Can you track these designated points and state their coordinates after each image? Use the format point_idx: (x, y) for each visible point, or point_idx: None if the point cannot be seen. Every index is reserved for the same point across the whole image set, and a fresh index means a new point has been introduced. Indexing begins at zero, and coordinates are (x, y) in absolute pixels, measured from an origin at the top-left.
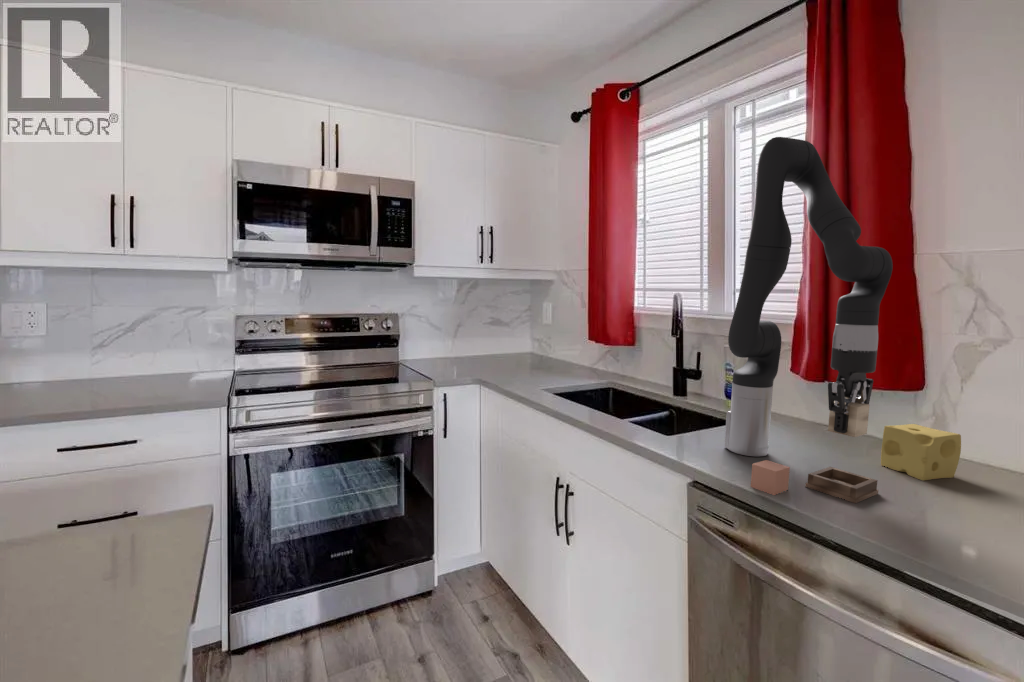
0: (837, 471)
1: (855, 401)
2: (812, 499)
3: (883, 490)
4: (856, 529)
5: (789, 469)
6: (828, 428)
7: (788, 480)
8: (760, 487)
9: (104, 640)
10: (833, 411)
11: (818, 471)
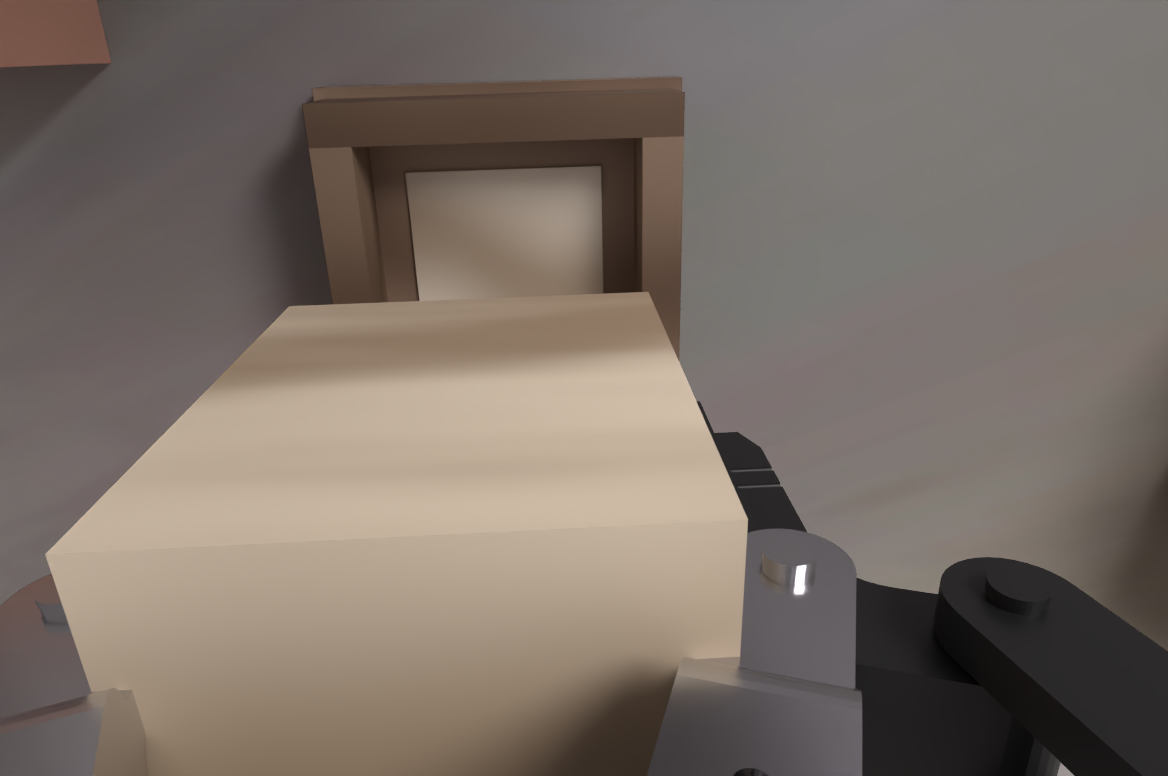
0: (641, 175)
1: (964, 660)
2: (148, 251)
3: (771, 387)
4: (24, 573)
5: (4, 66)
6: (280, 321)
7: (62, 64)
8: None
9: None
10: (41, 583)
11: (451, 113)
